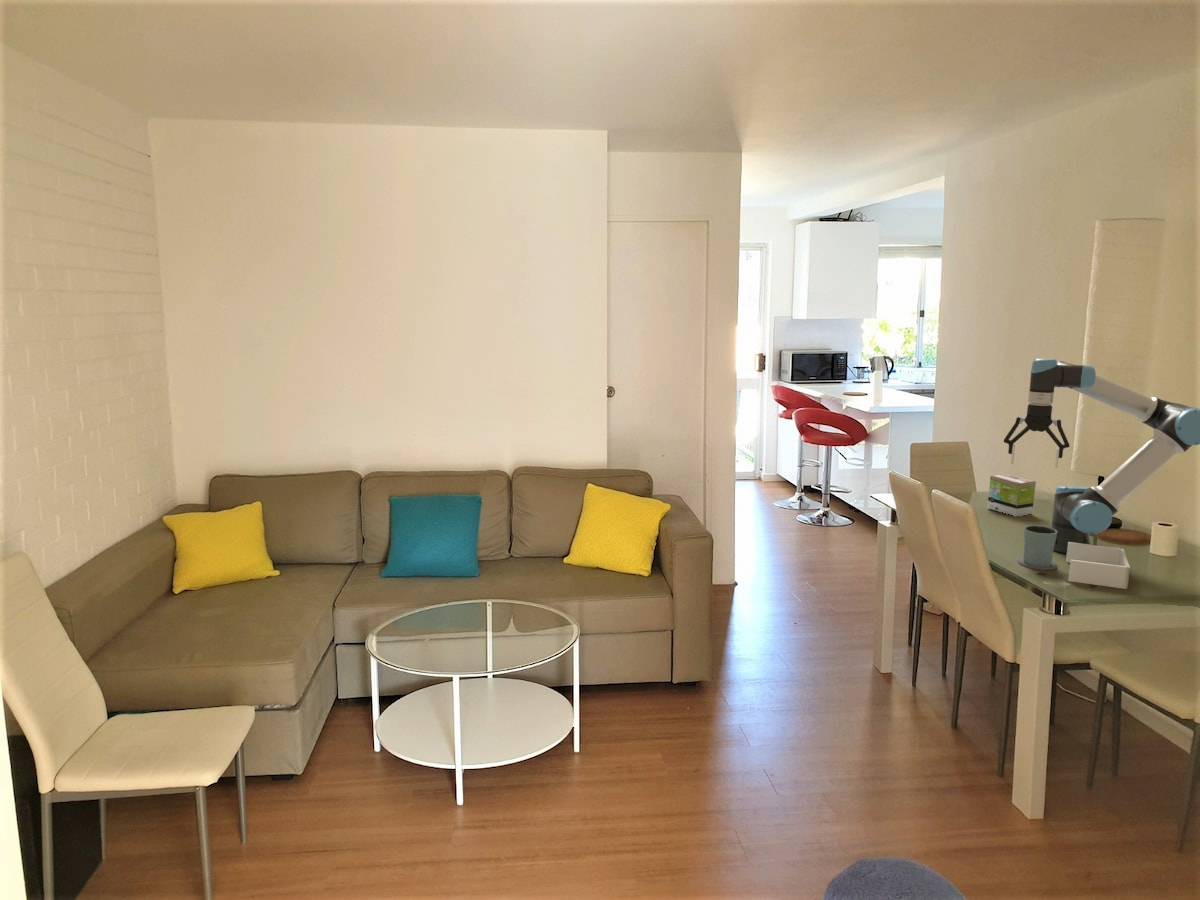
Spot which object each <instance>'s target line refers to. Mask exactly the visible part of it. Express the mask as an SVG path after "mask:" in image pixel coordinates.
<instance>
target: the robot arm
mask: <svg viewBox="0 0 1200 900" xmlns="http://www.w3.org/2000/svg"><path fill="white" fill-rule="evenodd" d="M1031 364H1032V365H1031V368H1030V369H1031V370H1030V377H1029V378H1030V381H1029V391H1028V398H1027V399H1028V404H1027V407H1026V408H1027V409H1026V416H1025V417H1021V416H1019V415H1018V416H1016V419H1015V422H1014V424H1013V425H1012V427H1011V428H1010V430H1009V431H1008V433H1007V435H1006V436H1005V437H1004V439H1003V442H1004V444H1007V445H1008V450H1007V451H1008V452H1007V453H1008V455H1011V457H1010V458H1011V459H1010V464H1011V465H1014V461H1015V460H1014V459H1015V450H1016V449H1015V448H1016V444H1015V443H1016V442H1017V441H1018V440H1019V439H1020V438H1022V437H1023V436H1024V435H1025V434H1027V433H1028V432H1029V431H1032V432H1039V433H1040V432H1043V433H1044V432H1046V433H1047V434H1048V435H1049V437H1050V438H1051V439H1052V440H1053V442H1054V443H1055V444H1056V445H1057V447H1056V448H1055V449H1056V452H1055V459H1054V468H1055V469H1058V464H1059V459H1062V458H1063V455H1064V449H1066V448H1070V446H1071V445H1070V443H1069V440H1068V438H1067V436H1066V434H1065V432H1064V430H1063V429H1064V428H1063V427H1062V419H1061V418H1058V419H1052V412H1053V405H1052V404H1053V403H1054V393H1055V388H1068V389H1070V390H1073V391H1075V392H1077V393H1079V394H1082V395H1085V396H1086V397H1087V396H1088V397H1089V398H1092V399H1094V400H1096V401H1099V402H1101V403H1103V404H1106V405H1108V406H1110V407H1112V408H1115V409H1117V410H1120V411H1122V412H1124V413H1126V414H1128V415H1130V416H1134V417H1136V419H1137V420H1138V422H1139V423H1141V424H1145V425H1146V426H1148V427H1150V428H1152V429H1153V436H1152V437H1151V438H1150V439H1148V440H1147V442H1145V443H1144V444H1143V445H1142V446H1141V447H1140V448H1139V449H1138V450H1136V452H1134V453H1133V454H1132V455H1131V456H1130V457H1129V458H1127V459H1126V460H1125V461H1124V462H1123V463H1122V464H1121V465H1120V466H1119V467H1117V468H1116V469H1115V470H1114V471H1113V472H1111V474H1110V475H1109V476H1108V477H1106V478H1105V479H1104V480H1103V481H1102V482H1101V483H1100V484H1099V485H1096V486H1089V487H1088V486H1087V487H1086V486H1079V485H1078V486H1077V485H1059V486H1057V487H1056V488H1055V493H1054V494H1053V495H1054V499H1053V511H1052V519H1051V521H1052V522H1051V526H1050V528H1053V529H1055V530H1057V536H1056V541H1055V545H1054V551H1053V552H1057V553H1063V554H1067V548H1068V542H1073V543H1082V544H1090V545H1093V544H1092V541H1091V537H1090V536H1091V535H1096V534H1100V533H1103V532H1104V531H1106V530H1108V528H1109V527H1110V526H1111V524H1112V521H1113V516H1114V515H1116V513H1118V512H1119V505H1120V504H1121V502H1122V501H1123V502H1124V500H1125V499H1126V498H1127V497H1128V496H1129V495H1131V494H1132V493H1133V492H1134V491H1135V490H1136V489H1138V488H1139V487H1140V486H1141V485H1142V484H1143V483H1144V482H1145V481H1146V480H1148V479H1149V478H1150V477H1151V476H1152V475H1153V474H1154V473H1155V472H1157V470H1160V468H1161V467H1162V466H1163V465H1164V464H1166V463H1167V462H1168V461H1169V460H1170V459H1171V458H1172V457H1173V456H1175V455H1176V454H1184V453H1186V452H1187V451H1188V450H1189V449H1190V448H1191V447H1192V446H1197V445H1199V446H1200V408H1199V407H1198V408H1197V407H1193V406H1189V405H1186V404H1181V403H1176V402H1171V401H1168V400H1165V399H1161V398H1158V397H1156V396H1150V397H1148V396H1146V395H1144V394H1141V393H1138V392H1137V391H1134V390H1132V389H1129V388H1127V387H1125V386H1122V385H1120V384H1117V383H1115V382H1113V381H1110V380H1109V379H1106V378H1103V377H1101V376H1099V375H1097V373H1096V370H1095V367H1094V366H1092V365H1085V364H1082V365H1080V364H1073V363H1069V362H1066V361H1061V360H1059V361H1058V360H1057V359H1055V358H1043V357H1041V358H1040V357H1039V358H1034V359H1033V361H1032V363H1031ZM1023 422H1024V423H1025V424H1026V426H1025V427H1024V428H1023V429H1021V430H1020V431H1019V432H1018V433H1017V434H1016V435H1015V436H1014V437H1012V436H1013V434H1014V433H1015V432H1016V430H1017V428H1018V427H1019V424H1023ZM1052 424H1053V425H1054V426H1055V427H1057V430H1058V432H1059V435H1060V437H1061V439H1062V442H1063V443H1062V442H1061V440H1060V439H1058V437H1057V436H1056V435H1055V433H1054V432H1053V431H1052V430H1051V427H1050V426H1051V425H1052ZM1011 437H1012V438H1011Z"/></svg>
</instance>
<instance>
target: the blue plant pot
mask: <svg viewBox="0 0 1200 900" xmlns="http://www.w3.org/2000/svg"><path fill="white" fill-rule="evenodd" d="M1023 534H1024V537H1023V542H1024V543H1023V556H1022V558H1023V561H1024V562H1025V563H1026V564H1029V565H1032V566H1038V567H1048V566H1050V565H1051V562H1053V558H1054V557H1053V555H1054V554H1053V553H1054V552H1055V551H1054V545H1055V541H1056V536H1057V530H1055V529H1053V528H1051V526H1050V527H1049V526H1047V525H1046V526H1044V525H1038V524H1036V525H1035V524H1032V525H1026V526H1024V528H1023Z"/></svg>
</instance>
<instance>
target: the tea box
mask: <svg viewBox="0 0 1200 900" xmlns="http://www.w3.org/2000/svg"><path fill="white" fill-rule="evenodd" d="M989 477H990V478H989V487H988V488H989V489H988V496H987V497H988V499H987V509H988V510H993V511H997V512H998V513H1002V512H1003V513H1002V514H1005V513H1006V514H1005V515H1008V514H1010V515H1009V516H1011V515H1013V516H1012V517H1014V516H1020V517H1023V516H1022V515H1027V514H1032V515H1033V510H1034V501H1035V494H1036V493H1035V492H1036V484H1037V483H1036V481H1035V480H1031V479H1028V478H1024V477H1020V476H1016V475H1012V474H1009V473H1004V474H997V475H990V476H989ZM1027 516H1028V515H1027Z"/></svg>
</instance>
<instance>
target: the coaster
mask: <svg viewBox="0 0 1200 900" xmlns="http://www.w3.org/2000/svg"><path fill="white" fill-rule="evenodd" d="M1017 564H1019V565H1020V566H1022V567H1025V568H1027V567H1028V569H1031V570H1038V571H1039V570H1040V571H1052V570H1053V571H1054V570H1056V569H1057V568H1058V564H1057V563H1055V562H1053V561H1052V562H1051V565H1050V566H1048V567H1038V566H1032V565H1029V564H1026V563H1025V562H1024V561H1023V557H1021V558H1019V559H1018V560H1017Z"/></svg>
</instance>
